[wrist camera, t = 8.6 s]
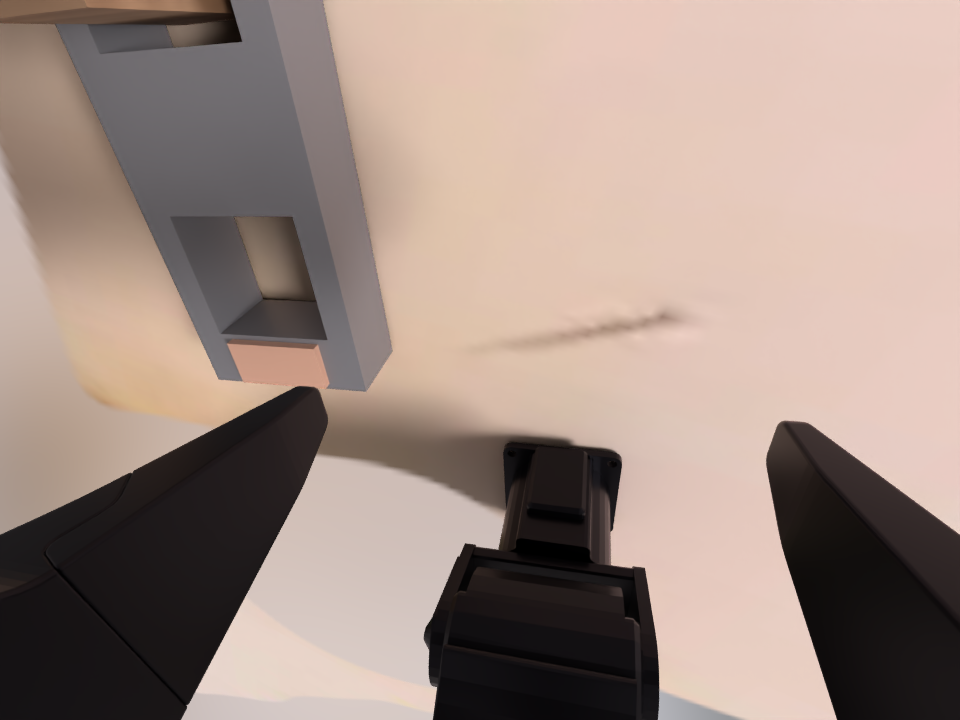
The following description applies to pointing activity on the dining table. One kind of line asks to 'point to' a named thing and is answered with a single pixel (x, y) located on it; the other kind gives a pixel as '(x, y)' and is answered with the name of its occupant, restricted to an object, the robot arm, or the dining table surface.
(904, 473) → the dining table surface
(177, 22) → the brown wooden block
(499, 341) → the dining table surface
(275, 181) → the socket strip
